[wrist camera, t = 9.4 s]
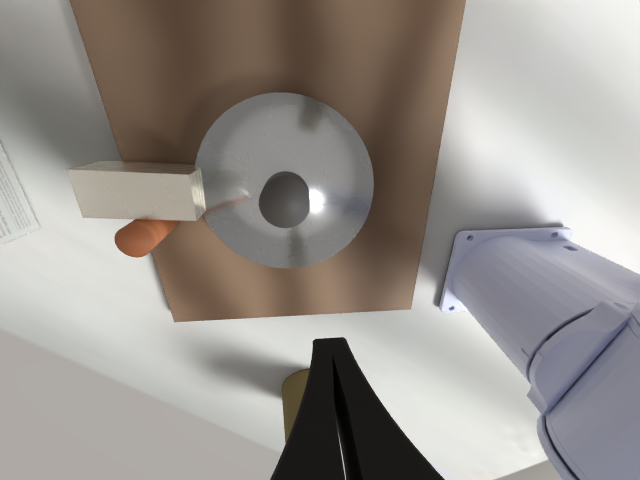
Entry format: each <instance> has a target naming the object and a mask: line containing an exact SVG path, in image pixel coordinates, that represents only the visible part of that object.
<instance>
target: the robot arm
mask: <svg viewBox="0 0 640 480" xmlns="http://www.w3.org/2000/svg"><path fill="white" fill-rule="evenodd" d="M552 233H553V234H552ZM469 235H471V236H470V238H468V239H467V237H468V236H469ZM571 235H572V230H571V229H570V228H567V227H551V228H525V229H498V230H471V231H460V232H459V233H458V234H457V235H456V237H455V241H454V246H453V250H452V254H451V258H450V263H449V267H448V271H447V275H446V280H445V284H444V288H443V292H442V296H441V301H440V305H439V309H440V310H441V311H442V312H444V313H447V312H465V311H469V312H470V313H471V314H472V316H473V317H474V318H475V319H476V320H477V321H478V323H479V324H480V325H481V326H482V327H483V328H484V330H485V331H486V332H487V333H488V334H489V336H490V337H491V338H492V339H493V340H494V341H495V343H496V344H497V345H498V346H499V347H500V349H501V350H502V351H503V352H504V353H505V354H506V356H507V357H508V358H509V359H510V360H511V361H512V363H513V364H514V365H515V366H516V367H517V369H518V370H519V371H520V372H521V373H522V374H523V376H524V377H525V378H526V379H527V380H528V382H529V383H530V384H531V388H530V391H529V392H528V394H527V397H528V398H529V399H530V400H531V402H532V403H533V404H534V405H535V407H536V408H537V409H538V410H539V412H540V413H541V414H540V416H539V418H538V420H537V433H538V437H539V440H540V443H541V445H542V447H543V449H544V452H545V454H546V455H547V457H548V459H549V460H550V462H551V464H552V465H553V467H554V468H555V470H556V471H557V472H558V474H559V475H560V477H561V478H562V479H563V480H640V275H639V274H637V273H635V272H633V271H631V270H629V269H627V268H625V267H623V266H621V265H619V264H616V263H614V262H612V261H610V260H608V259H606V258H604V257H602V256H600V255H598V254H596V253H593V252H591V251H589V250H587V249H585V248H583V247H581V246H579V245H577V244H575V243H572V242H570V241H569V239H570V237H571ZM451 306H452V307H451ZM449 307H450V308H449ZM337 427H338V429H337ZM338 433H339V436H338ZM339 438H340V443H341V449H342V454H343V460H344V466H345V473H346V480H445V479H444V478H443V477H442V476H441V475H440V474H439V473H438V472H437V471H436V470H435V469H434V468H433V466H432V465H431V464H430V463H429V462H428V461H427V460H426V458H425V457H424V456H423V455H422V454H421V453H420V452H419V450H418V449H417V448H416V447H415V446H414V445H413V444H412V442H411V441H410V440H409V439H408V437H407V436H406V435H405V434H404V432H403V431H402V430H401V429H400V427H399V426H398V425H397V423H396V422H395V421H394V420H393V418H392V417H391V416H390V414H389V413H388V411H387V410H386V409H385V407H384V406H383V404H382V403H381V401H380V400H379V398H378V397H377V395H376V394H375V392H374V391H373V389H372V388H371V386H370V384H369V383H368V381H367V379H366V378H365V376H364V374H363V373H362V371H361V369H360V367H359V366H358V364H357V362H356V360H355V358H354V356H353V354H352V352H351V350H350V348H349V345H348V343H347V341H346V339H345V338H344V337H340V338H324V339H315V340H314V341H313V352H312V360H311V365H310V370H309V375H308V379H307V383H306V387H305V390H304V394H303V397H302V400H301V404H300V407H299V410H298V413H297V416H296V419H295V422H294V424H293V427H292V430H291V432H290V435H289V438H288V440H287V442H286V445H285V447H284V450H283V452H282V455H281V457H280V459H279V462H278V464H277V466H276V469H275V471H274V473H273V475H272V477H271V479H270V480H345V475H344V469H343V463H342V456H341V449H340V443H339Z"/></svg>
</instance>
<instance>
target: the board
mask: <svg viewBox="0 0 640 480" xmlns="http://www.w3.org/2000/svg"><path fill="white" fill-rule="evenodd" d="M70 2H71V6H72V9H73V12H74V15H75V18H76V21H77V24H78V27H79V30H80V33H81V36H82V39H83V42H84V46H85V49H86V52H87V55H88V58H89V61H90V64H91V67H92V70H93V73H94V76H95V79H96V82H97V86H98V89H99V92H100V95H101V98H102V101H103V104H104V107H105V110H106V113H107V116H108V119H109V122H110V126H111V129H112V132H113V135H114V138H115V141H116V144H117V147H118V150H119V153H120V156H121V159H122V161H125V162H147V163H169V164H191V165H195V163H196V159H197V154H198V151H199V148H200V146H201V143H202V141H203V139H204V137H205V135H206V133H207V132H208V130H209V129H210V128H211V126H212V125H213V124H214V122H215V121H216V120H217V119H218V118H219V117H220V116H221V115H222V114H223V113H224V112H226V111H227V110H228V109H230V108H231V107H233V106H234V105H236V104H238V103H240V102H242V101H244V100H246V99H248V98H251V97H254V96H257V95H261V94H268V93H294V94H300V95H304V96H307V97H311V98H314V99H316V100H318V101H320V102H322V103H325V104H326V105H328V106H330V107H331V108H333V109H334V110H336V111H337V112H338V113H339V114H341V115H342V116H343V117H344V118H345V119H346V120H347V121H348V122H349V123H350V124H351V125H352V126H353V128H354V129H355V130H356V131H357V133H358V134H359V136H360V137H361V139H362V141H363V143H364V145H365V147H366V149H367V151H368V154H369V157H370V160H371V164H372V170H373V179H374V189H373V198H372V203H371V207H370V210H369V213H368V216H367V218H366V220H365V222H364V224H363V226H362V228H361V229H360V231H359V232H358V234H357V235H356V236H355V237H354V239H353V240H352V241H351V242H350V243H349V244H348V245H347V246H346V247H345V248H343V249H342V250H341V251H340V252H338V253H337V254H335V255H334V256H332V257H330V258H328V259H326V260H324V261H322V262H319V263H317V264H314V265H310V266H306V267H300V268H275V267H269V266H265V265H261V264H258V263H255V262H253V261H250V260H248V259H246V258H244V257H242V256H241V255H239V254H237V253H236V252H234V251H233V250H231V249H230V248H229V247H228V246H226V245H225V244H224V243H223V242H222V241H221V240H220V239H219V238H218V237H217V235H216V234H215V233H214V232H213V231H212V229H211V228H210V226H209V225H208V223H207V222H206V220H205V218H204V216H203V214H202V216H201V217H200V218H199V219H198V220H197V221H183V220H147V219H135V220H134V221H132V222H131V223H129V224H128V225H126V226H125V227H123V228H122V229H120V230H119V231H118V232H117V233H116V234H115V243H116V246H117V247H118V248H119V250H120V251H122V252H123V253H124V254H126V255H128V256H131V257H142V256H145V255H146V254H148V253H149V252H150V251H151V252H152V255H153V258H154V261H155V264H156V267H157V270H158V273H159V276H160V279H161V282H162V285H163V289H164V292H165V295H166V298H167V301H168V304H169V307H170V310H171V313H172V316H173V319H174V322H186V321H204V320H222V319H241V318H259V317H278V316H296V315H315V314H333V313H352V312H370V311H389V310H407V309H411V306H412V300H413V294H414V289H415V283H416V277H417V272H418V266H419V261H420V255H421V249H422V244H423V238H424V233H425V227H426V221H427V216H428V210H429V205H430V199H431V193H432V188H433V182H434V176H435V171H436V165H437V160H438V154H439V148H440V143H441V137H442V132H443V126H444V120H445V115H446V109H447V104H448V98H449V92H450V87H451V81H452V75H453V70H454V64H455V59H456V53H457V47H458V42H459V36H460V31H461V25H462V19H463V14H464V8H465V3H466V0H70ZM259 209H260V212H261V214H262V216H263V217H264V218H265V220H266V221H267V222H269V223H270V224H272V225H273V226H276V227H279V228H292V227H295V226H297V225H299V224H300V223H302V222H303V221H304V220H305V219H306V217H307V216H308V214H309V211H310V196H309V189H308V186H307V184H306V182H305V181H304V180H303V178H301V177H300V176H299V175H297V174H295V173H293V172H288V171H283V172H278V173H276V174H274V175H272V176H271V177H270V178H269V179H268V180H267V182H266V183H265V185H264V187H263V189H262V192H261V194H260V197H259Z"/></svg>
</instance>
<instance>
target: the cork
mask: <svg viewBox="0 0 640 480" xmlns="http://www.w3.org/2000/svg"><path fill="white" fill-rule="evenodd" d="M309 370H310V369H306V370H300V371H298V372H296V373H293V374H292V375H290V376H289V377H288V378H286V380H285V381H284V383H283V385H282V401H283V414H284V428H285V442H287V440H288V438H289V435H290V432H291V430H292V427H293V424H294V422H295V419H296V416H297V413H298V410H299V407H300V404H301V400H302V397H303V394H304V390H305V387H306V383H307V379H308V375H309ZM337 429H338V427H337ZM338 436H339V433H338Z"/></svg>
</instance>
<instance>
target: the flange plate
mask: <svg viewBox="0 0 640 480" xmlns="http://www.w3.org/2000/svg"><path fill="white" fill-rule="evenodd" d="M66 171H67V174H68V176H69V179H70V182H71V185H72V188H73V191H74V194H75V196H76V199H77V202H78V205H79V208H80V211H81V214H82V216H83V218H111V219H147V220H183V221H197V220H198V219H199V218H200V217H201V216H202V214H203V216H204V218H205V220H206V222H207V223H208V225H209V226H210V228H211V229H212V231H213V232H214V233H215V234H216V235H217V237H218V238H219V239H220V240H221V241H222V242H223V243H224V244H225V245H226V246H228V247H229V248H230V249H231V250H233V251H234V252H236V253H237V254H239V255H241V256H242V257H244V258H246V259H248V260H250V261H253V262H255V263H258V264H261V265H265V266H269V267H275V268H300V267H306V266H310V265H314V264H317V263H319V262H322V261H324V260H326V259H328V258H330V257H332V256H334V255H335V254H337V253H338V252H340V251H341V250H342V249H343V248H345V247H346V246H347V245H348V244H349V243H350V242H351V241H352V240H353V239H354V237H355V236H356V235H357V234H358V232H359V231H360V229H361V228H362V226H363V224H364V222H365V220H366V218H367V216H368V213H369V210H370V207H371V203H372V198H373V189H374V179H373V170H372V164H371V160H370V157H369V154H368V151H367V149H366V147H365V145H364V143H363V141H362V139H361V137H360V136H359V134H358V133H357V131H356V130H355V129H354V128H353V126H352V125H351V124H350V123H349V122H348V121H347V120H346V119H345V118H344V117H343V116H342V115H341V114H339V113H338V112H337V111H336V110H334V109H333V108H331V107H330V106H328V105H326V104H325V103H322V102H320V101H318V100H316V99H314V98H311V97H307V96H304V95H300V94H294V93H268V94H261V95H257V96H254V97H251V98H248V99H246V100H244V101H242V102H240V103H238V104H236V105H234V106H233V107H231V108H230V109H228V110H227V111H226V112H224V113H223V114H222V115H221V116H220V117H219V118H218V119H217V120H216V121H215V122H214V124H213V125H212V126H211V128H210V129H209V130H208V132H207V133H206V135H205V137H204V139H203V141H202V143H201V146H200V148H199V151H198V154H197V159H196V163H195V165H191V164H169V163H147V162H125V161H99V162H95V163H91V164H87V165H83V166H79V167H75V168H70V169H66ZM283 171H288V172H293V173H295V174H297V175H299V176H300V177H301V178H303V180H304V181H305V182H306V184H307V186H308V189H309V196H310V211H309V214H308V216H307V217H306V219H305V220H304V221H303V222H302V223H300V224H299V225H297V226H295V227H292V228H279V227H276V226H273V225H272V224H270V223H269V222H267V221H266V220H265V218H264V217H263V216H262V214H261V212H260V209H259V197H260V194H261V192H262V189H263V187H264V185H265V183H266V182H267V180H268V179H269V178H270V177H271V176H272V175H274V174H276V173H278V172H283Z"/></svg>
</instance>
